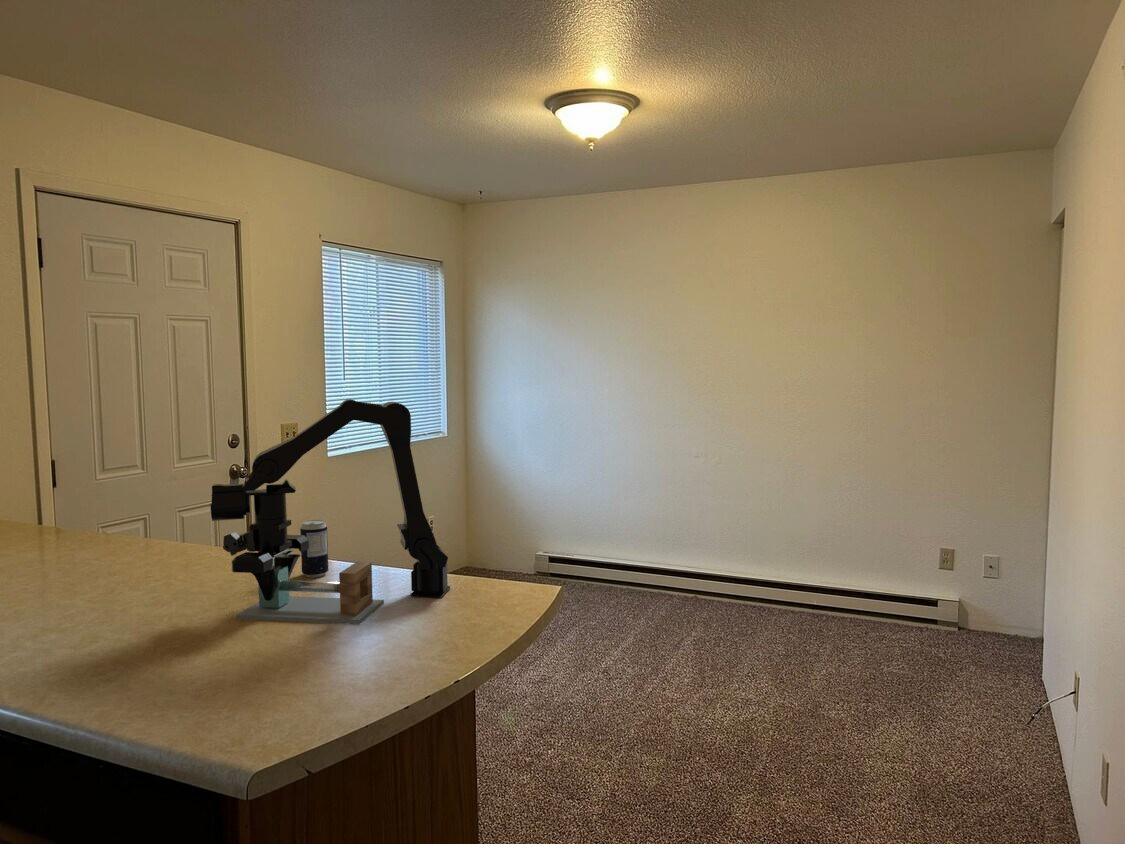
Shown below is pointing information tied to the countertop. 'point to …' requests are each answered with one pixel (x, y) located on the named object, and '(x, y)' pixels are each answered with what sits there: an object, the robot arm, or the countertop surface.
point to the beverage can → (315, 548)
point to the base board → (308, 611)
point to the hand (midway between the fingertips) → (274, 596)
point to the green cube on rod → (294, 589)
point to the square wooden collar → (355, 588)
